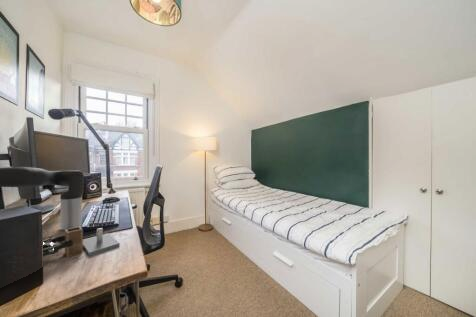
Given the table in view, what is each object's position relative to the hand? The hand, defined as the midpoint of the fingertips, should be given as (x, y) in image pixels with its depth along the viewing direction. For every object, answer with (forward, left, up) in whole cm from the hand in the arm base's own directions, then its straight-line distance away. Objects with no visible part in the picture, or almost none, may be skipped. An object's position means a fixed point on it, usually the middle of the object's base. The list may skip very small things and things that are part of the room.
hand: (70, 239), depth 77 cm
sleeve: (0, +1, -6) cm, 6 cm away
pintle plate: (0, +10, -6) cm, 12 cm away
